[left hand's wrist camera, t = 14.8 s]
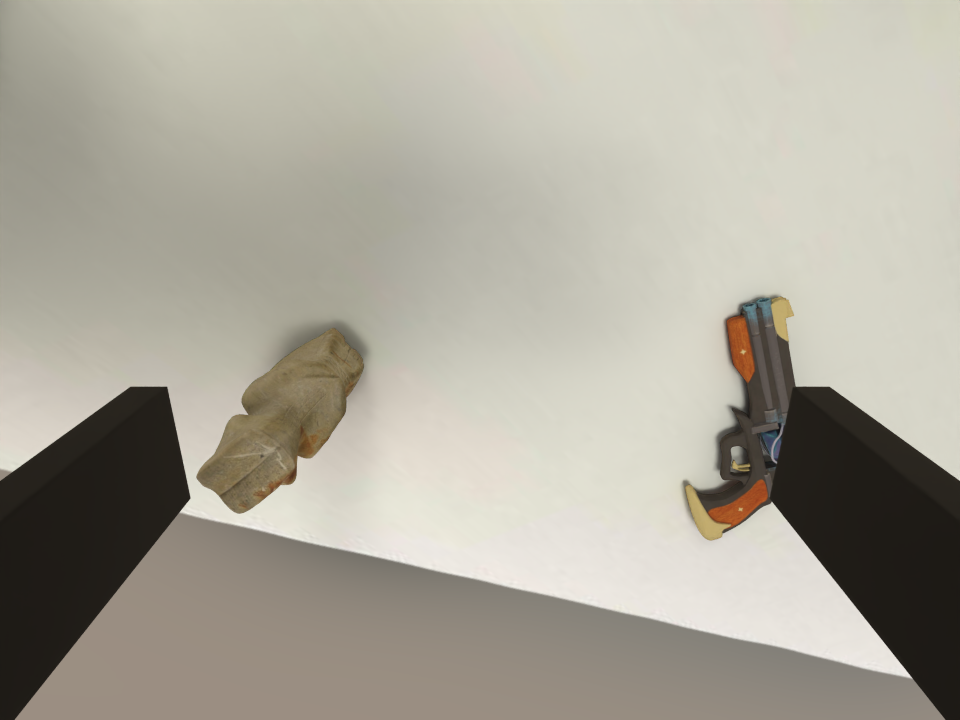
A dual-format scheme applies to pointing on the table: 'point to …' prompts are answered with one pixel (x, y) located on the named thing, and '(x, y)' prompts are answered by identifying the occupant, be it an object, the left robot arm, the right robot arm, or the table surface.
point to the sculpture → (283, 421)
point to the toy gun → (752, 417)
